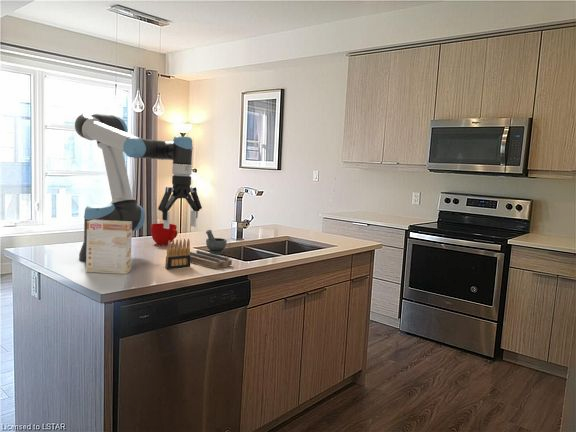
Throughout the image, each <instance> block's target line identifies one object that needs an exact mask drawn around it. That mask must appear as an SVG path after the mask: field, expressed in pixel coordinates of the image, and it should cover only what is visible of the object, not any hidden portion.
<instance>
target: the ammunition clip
mask: <svg viewBox="0 0 576 432" xmlns="http://www.w3.org/2000/svg"><path fill="white" fill-rule="evenodd" d="M190 244H191V242H190V238H187V241H186V238H184V239H183V241H182V239H181V238H180V240H178V239H176V240H175V239H173V241H172V242H171V243H170V240H169V241H168V245H167V246H166V247H167V249H166V256H165V266H164V267H165V269H166V270H174V269H175V270H177V269H185V268H191V262H190V252H191V245H190Z"/></svg>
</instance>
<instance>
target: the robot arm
mask: <svg viewBox="0 0 576 432" xmlns="http://www.w3.org/2000/svg"><path fill="white" fill-rule="evenodd" d="M74 129H75V132H76V133H77V134H78V135H79V136H80V137H81V138H83V139H86V140H88V141H96V144H97V147H98V148H100V149H101V151H102V155H103V161H104V166H105V172H106V176H107V180H108V184H109V186H108V187H109V191H110V196H111V202H103V203H94V204H93V203H92V204H89V205H87V206H86V207H85V209H84V213H83V214H84V216H83V219H84V224H83V226H84V227H83V229H84V230H83V242H82V245H81V247H80V248H81V249H80V251H79V253H78V254H79V255H78V259H79V260H80V261H82V262H86V247H87V221H90V220H93V219H96V220H113V221H132V232H134V231H138V230H140V229H141V228H142V227H143V225H144V223H145V220H146V212H145V209H144V208H143V206H141V205H139V204H138V203H137V199H136V198H134V197H133V195H132V191H131V190H132V189H131V186H130V185H131V183H130V180H129V175H128V171H127V166H126V161H125V156H124V153H125V155H126V156H127V157H129V158H134V159H152V160H161V161H164V160H167V161H168V160H169V161H172V175H171V176H172V178H171V179H172V180H171V184H172V186H171V187H170V186H166V187H165V192H164V194H163V197H162V199H161V201H160V203H159V205H158V207H157V210H158V211H161V212H162V216H161V217H162V218H161V219H162V221H163V223H164V227H163V228H166V229H169V224H170V214H171V213H170V212H169V211H170V209H171V208H172V206H173V205H174V204H175V203H176V201H177V200H178V199H185V200H186V202H187V203H188V205H189V206H190V208H191V210H190V226H189V227H193V228H195V227H197V219H198V213H199V212H200V210H202V209H203V206H202V203H201V201H200V198H199V196H198V192H197V187H194V186H191V185H192V176H191V175H192V167H193V166H192V165H193V149H194V148H193V139H192V137H189V136H179V135H176V136H174V137H173V140H172V141H168V140H167V141H166V140H159V139H157V140H155V139H149V138H148V139H146V138H141V137H139V136H137V135H135V134H131V133H129V131H128V126H127V124H126V122H125V121H124V119H123V118H121V117H120V116H115V115H112V114H111V115H110V114H101V113H95V112H84V113H82V114H80V115H79V116H78V117H76V119H75V121H74Z"/></svg>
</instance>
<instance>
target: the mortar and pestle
mask: <svg viewBox="0 0 576 432" xmlns="http://www.w3.org/2000/svg"><path fill="white" fill-rule="evenodd" d="M205 234H206V236H207V237H208V238H206V239H205V240H206V242H205V243H206V244H205V245H206V248H207V249H208V250H209V252H208V253H211V254H215V255H219V256H222V254H223V250H224V249H226V246H227V242H228V240H227V239H226V238H221V237H218V238H217V237H215V236H214V234H213V231H212V229H207V230H206V231H205Z"/></svg>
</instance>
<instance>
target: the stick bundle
mask: <svg viewBox="0 0 576 432" xmlns="http://www.w3.org/2000/svg"><path fill="white" fill-rule="evenodd" d="M232 262H233V260H232V259H229V257H227V256H226V257H225V256H222V255H215V254H211V253H209V252H207V251H202V250H199V249H198V250H196V252H193V251H190V263H193V264H196V265H198V266H199V265H200V266H203V267H206V268H210V269H212V270H213V269H214V270H215V269H216V270H217V269H221V268H226V266H228V267H231V266H230V265H232Z"/></svg>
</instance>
